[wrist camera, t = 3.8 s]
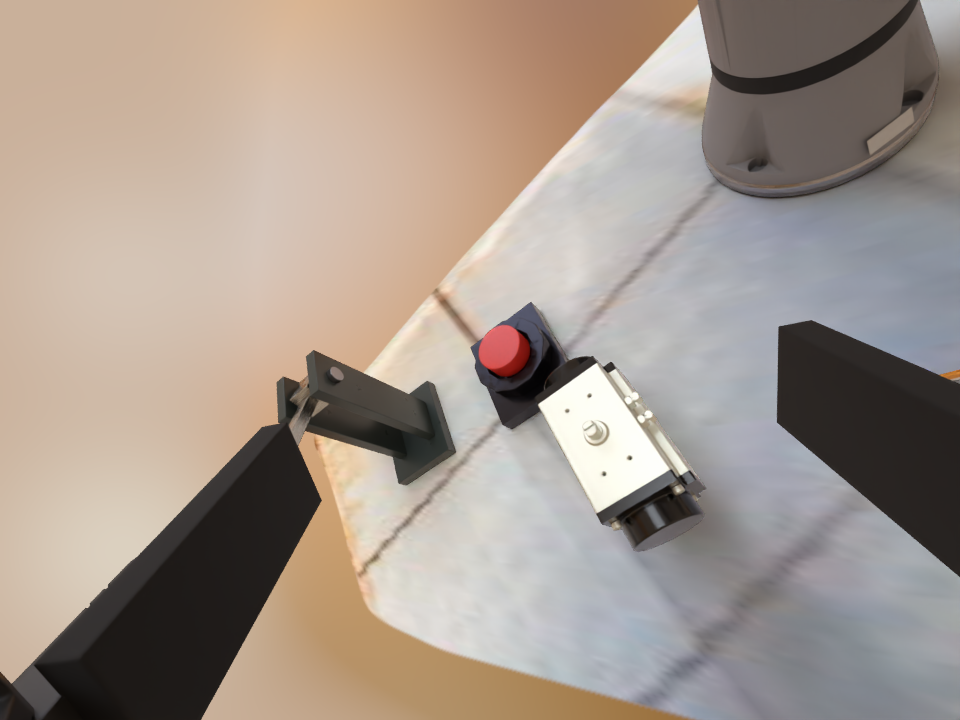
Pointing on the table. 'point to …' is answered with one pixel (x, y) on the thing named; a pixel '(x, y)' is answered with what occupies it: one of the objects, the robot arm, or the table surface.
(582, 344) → the table surface
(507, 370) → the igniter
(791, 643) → the table surface
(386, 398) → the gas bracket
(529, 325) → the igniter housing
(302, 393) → the lever
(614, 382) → the pneumatic valve
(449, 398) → the table surface
